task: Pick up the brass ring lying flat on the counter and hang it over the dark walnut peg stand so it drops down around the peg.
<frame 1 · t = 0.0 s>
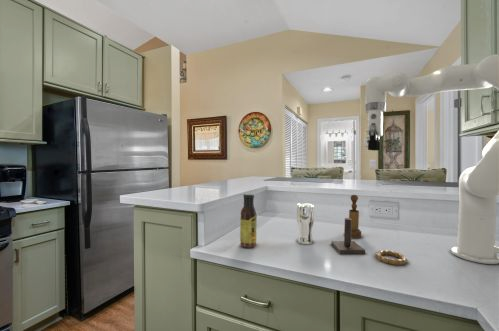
hand: (373, 150, 102), 37 cm above the counter, tool pointing down, fingers open, 9 cm apart
ring: (390, 257, 83), point 1 cm above the counter
peg stand: (347, 249, 92), on the counter
sauce bottle: (248, 245, 95), on the counter
beer glass: (304, 242, 100), on the counter
brown knobbed post: (353, 236, 107), on the counter
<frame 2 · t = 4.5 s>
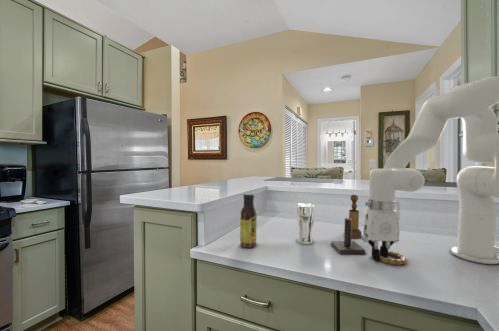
hand: (379, 259, 83), 0 cm above the counter, tool pointing down, fingers closed on ring, 2 cm apart
ring: (390, 257, 83), point 1 cm above the counter, touching gripper
everything else where it was.
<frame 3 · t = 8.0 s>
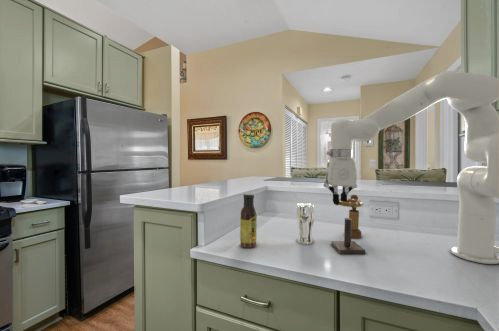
hand: (339, 204, 91), 17 cm above the counter, tool pointing down, fingers closed on ring
ring: (349, 202, 91), point 18 cm above the counter, touching gripper
everything else where it was.
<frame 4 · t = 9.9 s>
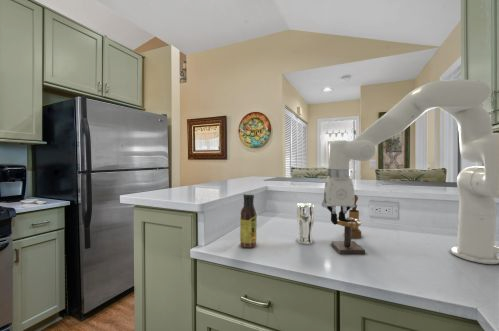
hand: (337, 223, 91), 10 cm above the counter, tool pointing down, fingers closed on ring
ring: (347, 221, 91), point 10 cm above the counter, touching gripper
everything else where it was.
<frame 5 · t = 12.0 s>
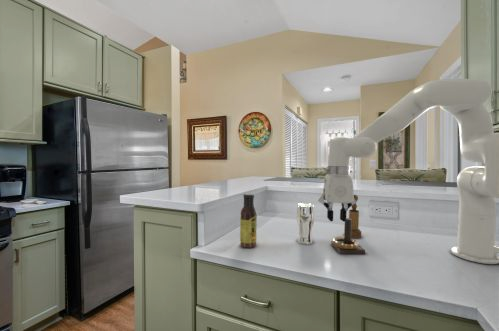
hand: (336, 219, 91), 11 cm above the counter, tool pointing down, fingers open, 3 cm apart
ring: (345, 242, 92), point 2 cm above the counter, touching peg stand
everything else where it was.
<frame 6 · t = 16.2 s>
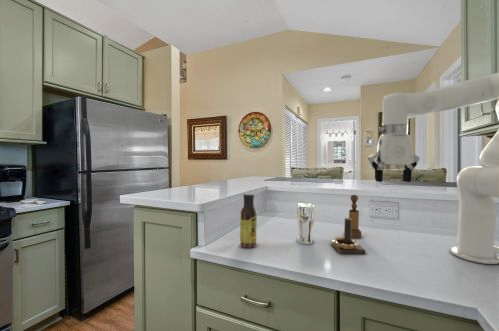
hand: (392, 181, 84), 26 cm above the counter, tool pointing down, fingers open, 9 cm apart
nothing on the counter moved.
at the end: ring 0.9 cm from the peg stand (horizontally); ring point 2.3 cm above the counter; the gripper is holding nothing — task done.
